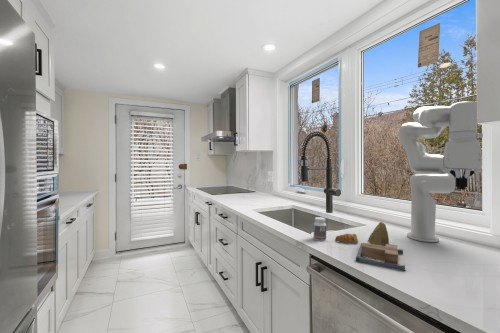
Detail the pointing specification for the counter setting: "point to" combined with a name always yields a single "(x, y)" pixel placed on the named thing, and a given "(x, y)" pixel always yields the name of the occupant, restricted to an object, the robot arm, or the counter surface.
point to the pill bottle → (320, 229)
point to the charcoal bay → (379, 263)
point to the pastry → (347, 239)
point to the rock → (379, 235)
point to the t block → (380, 252)
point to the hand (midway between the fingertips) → (461, 189)
